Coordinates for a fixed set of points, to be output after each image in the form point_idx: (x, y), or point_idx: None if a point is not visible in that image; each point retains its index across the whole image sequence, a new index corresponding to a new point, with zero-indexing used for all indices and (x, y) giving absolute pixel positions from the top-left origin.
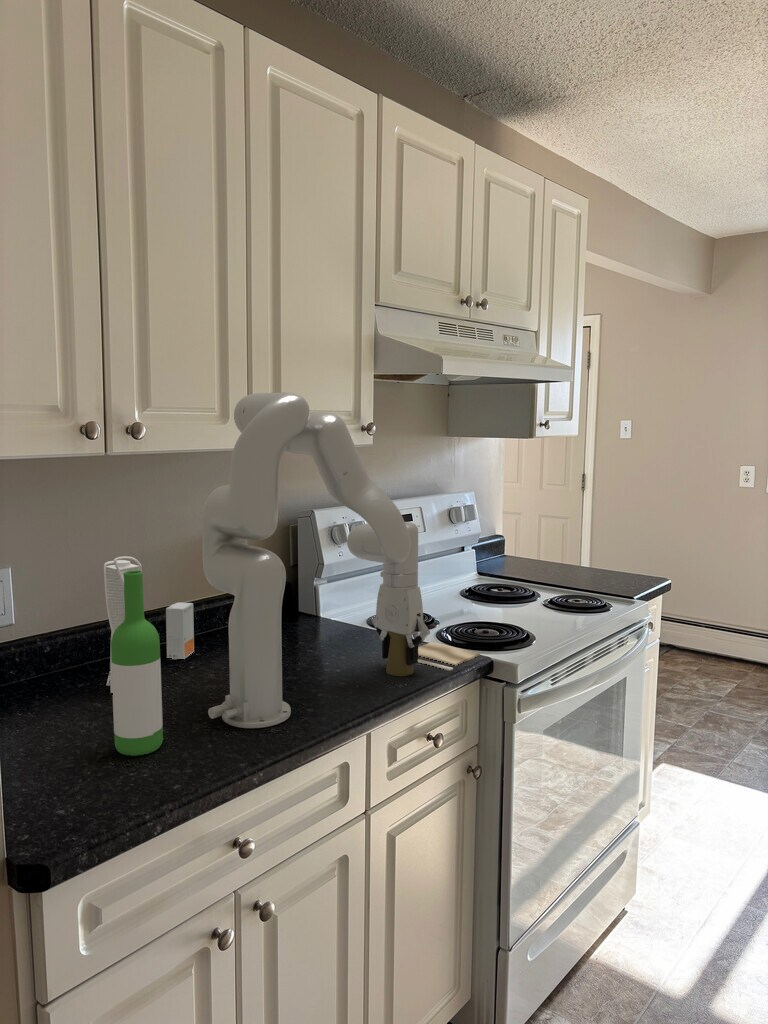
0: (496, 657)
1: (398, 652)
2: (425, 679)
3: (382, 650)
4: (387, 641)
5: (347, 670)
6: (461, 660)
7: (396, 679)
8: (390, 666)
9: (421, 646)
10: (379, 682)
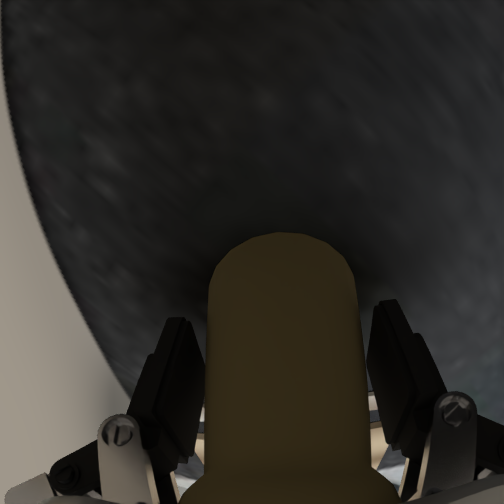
0: (186, 482)
1: (231, 358)
2: (117, 301)
3: (411, 333)
4: (402, 411)
5: (493, 121)
6: (201, 455)
7: (194, 203)
8: (288, 261)
9: (379, 456)
10: (220, 89)
